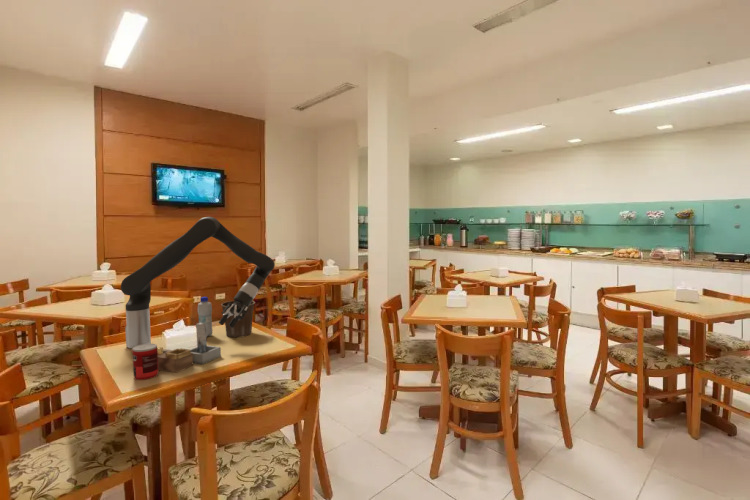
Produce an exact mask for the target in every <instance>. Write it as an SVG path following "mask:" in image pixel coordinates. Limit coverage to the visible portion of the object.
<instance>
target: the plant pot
mask: <svg viewBox="0 0 750 500" xmlns="http://www.w3.org/2000/svg"><path fill="white" fill-rule="evenodd" d="M234 302H235V301H234V300H230V301H225V302H223V303H221V304H220V306H221V307H222V311H223V310H224V309H225V308H226V306H227V305H228V304H229V303H231V304H233V303H234ZM255 304H256V302H255V301H254V300H253V301H252V302H251V304H250V305H249V307H248V308H249V310H248V311H247V313H246V314H245V316H244V318H243V319H242V320H241V319H240V320H238V321H237V322H236V324H235V325H234V327H233V328H232V327H230V326H229V323H230V322H231V320H232V319H233V318H234V315H235V314H234V315H232V316H229V317H228V319H227V320H226V321H225V323H224V324H225V326H224V327H225V334H226V337H228V338H243V337H247V336H250V335H251V334H252V331H253V330H252V329H253V317H254V316H253V315H254V310H255ZM226 311H227V310H226ZM226 311H225V312H226ZM242 315H243V314H242Z"/></svg>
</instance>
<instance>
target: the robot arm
mask: <svg viewBox="0 0 750 500" xmlns="http://www.w3.org/2000/svg"><path fill="white" fill-rule="evenodd" d="M209 238H214V239H216V240H217V241H219V242H220V243H223V244H224V245H225V246H226V247H227V248H228V249H229V250H230V251H232V253H233V254H235V255H236V256H237V257H238V258H239V259H241V260H243V261H244V262H246V263H247V264H253V265H255V268H254V270H253V272H252V274H250V276H248V277H247V279H246V281H245V282H244V284H242V286H241V287H240V288H239V290H238V291H237V293H236V294H235V296H234V297H233V301H235V302H234V303H233V304H231V303H229V304H228V305H227V306H226V308H225V309H224V310H223V309H222V312H221V315H222V317H221V318H220V319H219V321H218V324H219V325H221V326H224V324H225V321H226V320H227V319H228V317H229V316H232V315H234V314H235V315H234V318H233V319H232V320H231V322H230V323H229V326H230V327H232V328H233V327H234V325H235V324H236V322H237V321H238V320H240V319H241V320H242V319H243V318H244V316H245V314H246V313H247V311H248V310H249V308H248V307H249V305H250V304H251V302H252V301H254V299H255V297H257V294H258V292H259V290H260V289H261V288H262V286H263V285H264V282H265V280H266V279H267V277H268V276H269V275H270V274H271V272H272V271H273V270H274V268H275V260H274V259H272V257H270V256H268V255H266V254H265V253H262V252H261V251H258V250H256V249H255V248H253V247H252V246H250V245H249V244H248V243H246V242H245V241H243V240H242V239H240V238H239V237H237V236H236V235H235V234H233V233H232V232H231V231H230V230H229V229H227V228H226V227H225V226H224V225H223V224H222V223H221V222H220V221H219V220H218V219H217V218H215V217H213V216H205V217H201V218H200V219H199V220H198V221H196V223H194V224H193V225H192V226H191V227H190V229H188V230H187V231H186V232H185V233H184V234H183V235H181V236H180V237H178V238H177V239H175V240H173V241H172V242H171V243H169V244H168V245H167V246H165V247H164V248H163V249H162V250H160V251H159V252H158V253H157V254H155V255H154V256H153V257H151V258H150V259H149V260H148V261H147V262H146V263H145V264H143V266H142V267H141V266H140V268H139V269H137V270H135V271H134V272H132V273H131V274H129V275H128V276H125V278H123V280H122V281H121V283H120V290H121V293H123V294H124V295H126V296H129V298H128V301H127V303H126V304H125V320H126V321H125V322H126V323H125V324H126V326H125V327H124V328H125V329H124V331H125V346H126V347H127V348H129V349H132V350H133V348H134V347H135V346H138V345H143V344H152V339H151V338H152V336H151V335H152V333H151V320H150V319H151V315H150V303H151V298H152V297H151V294H152V293H151V290H152V289H151V288H152V287H151V286H152V285H151V282H152V281H153V280H155V279H156V278H157V277H160V276H162V275H163V274H165V273H167V272H168V271H170V270H172V269H173V268H175V267H177V265H179V264H180V263H181V262H182V261H184V260H185V259H186V258H187V257H188V256H189V255H190V254H191V253H192V251H193V250H194V249H195V248H196V247H197V246H198V245H200V244H201V243H203V242H204V241H206V240H208V239H209ZM226 310H227V311H226ZM225 311H226V312H225ZM242 314H243V315H242Z"/></svg>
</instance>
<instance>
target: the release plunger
mask: <svg viewBox="0 0 750 500" xmlns="http://www.w3.org/2000/svg"><path fill="white" fill-rule="evenodd" d="M163 349H164V347H157V353H158V355H160V354H163Z"/></svg>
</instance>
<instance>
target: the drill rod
mask: <svg viewBox="0 0 750 500" xmlns="http://www.w3.org/2000/svg"><path fill="white" fill-rule="evenodd" d="M195 325H196V326H195V328H196V330H195V331H196V347H197V351H198V353H202V354H203V353H205V352H207V346H208V342H207V337H206V323H199V322H198V323H196V324H195Z"/></svg>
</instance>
